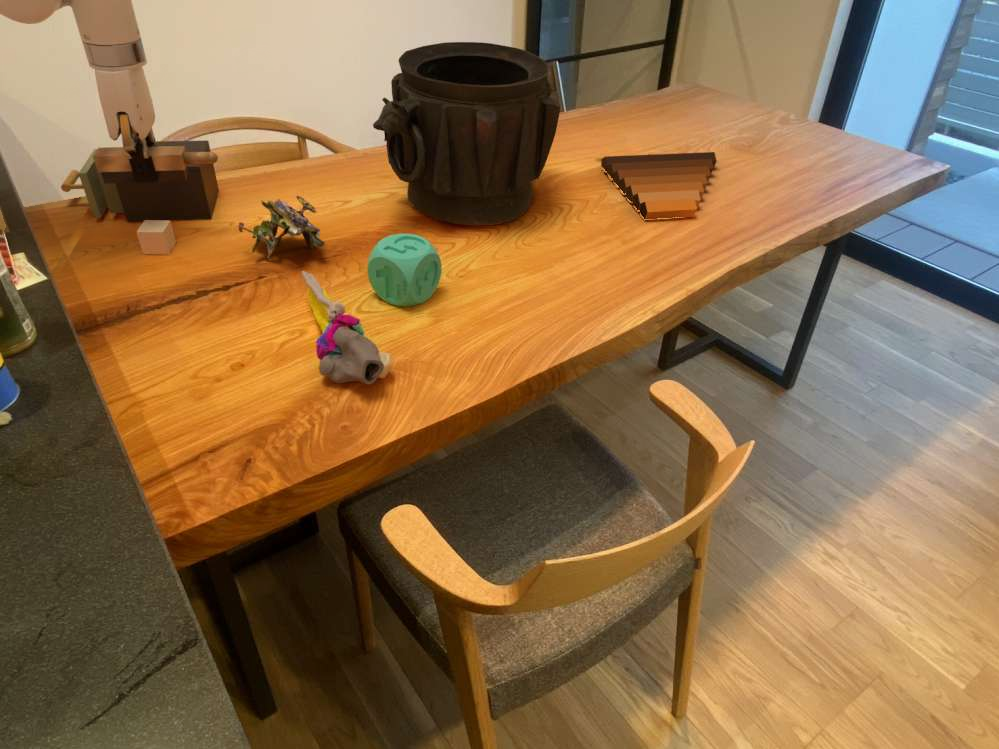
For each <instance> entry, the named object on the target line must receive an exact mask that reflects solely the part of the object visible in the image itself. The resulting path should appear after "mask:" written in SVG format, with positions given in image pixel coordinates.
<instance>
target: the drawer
mask: <svg viewBox="0 0 999 749" xmlns="http://www.w3.org/2000/svg"><path fill="white" fill-rule="evenodd" d="M97 149H98V148H94V149H93V150H92V152H91V153H90V155H89V156H88V158H87V159H86V162H84V164H83V165H82V167H81V169H79V171H78V170H76V169H72V170H70V172H69V174H68V175H67V176H66V178H65V180H64V181H63V182H62V184H61V185H60V189H61V190H62V192H65V193H69V192H71V191H72V190H83V191H84V194H85V197H86V200H87V203H88V206H89V209H90V211H91V214H92V218H102V216H103V215H104V213H105V211H106V209H107V208H108V211H109V213H110V214H125V213H124V209H123V206H122V203H121V200H120V197H119V193H118V190H117V187H116V184H115V183H108V184H105V183H104V180H103V177H102V174H101V172H98V171H97V168H96V165H95V162H94V159H93V156H94V154H95V152H96V151H97ZM78 179H79V180H80V182H81V183H78V184H77V181H78Z"/></svg>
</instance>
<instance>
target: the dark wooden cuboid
mask: <svg viewBox="0 0 999 749" xmlns="http://www.w3.org/2000/svg"><path fill="white" fill-rule="evenodd" d="M134 143H135V142H134ZM135 144H136V143H135ZM156 145H157V147H160V146H185V149H186V152H212V151H211V146H210V142H209V140H163V141H161V140H159V141H156ZM187 168H188V172H189V175H188V177H187V180H186V181H182V182H154V183H115V184H116V187H117V190H118V193H119V197H120V200H121V203H122V206H123V209H124V213H123V214H124V215H125V216H124V217H125V219H126V221H127V223H143V222H144V220H169V221H171V222H178V221H204V220H207V221H208V220H212V219H213V215H214V211H215V208H216V204H217V200H218V197H219V192H220V189H219V183H218V179H217V175H216V170H215V165H214V164H187Z"/></svg>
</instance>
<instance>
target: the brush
mask: <svg viewBox="0 0 999 749" xmlns="http://www.w3.org/2000/svg"><path fill="white" fill-rule="evenodd" d="M96 149H97V151H96V152H95V154H94V156H93V159H94V162H95V165H96V168H97V171H98V172H101V174H102V177H103V180H104V183H105V184H108V183H137V182H136V181H135V179H134V175H133V172H132V168H131V165H130V162H129V159H128V156H127V152H126V151H125V150H124V148H123V146H118V147H117V146H114V147H113V146H112V147H111V146H109V147H107V146H106V147H98V148H96ZM147 149H148V153H149V156H152V159H153V163H154V167H155V171H156V174H157V178H158V180H157V182H182V181H186V180H187V177H188V175H189V172H188V168H187V164H213V165H214V164H216V163H217V162H218V160H219V156H218V155H217V154H216V153H215V152H213V151H211V152H186V149H185V146H160V147H147Z"/></svg>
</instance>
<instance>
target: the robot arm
mask: <svg viewBox="0 0 999 749" xmlns="http://www.w3.org/2000/svg"><path fill="white" fill-rule="evenodd" d="M64 7H70V8H71V9H72V12H73V13H72V14H73V17H74V19H75V23H76V26H77V29H78V33H79V36H80V40H81V43H82V46H83V50H84V53H85V56H86V59H87V62H88V66H89V67H90V68H91V69H92V70H93V69H94V75H95V82H96V89H97V92H98V97H99V101H100V104H101V109H102V113H103V117H104V121H105V124H106V129H107V132H108V136H109V138H110V139H111V140H112V141H118V140H119V137H120V136H121V141H122V147H123V148H124V150H125V151H126V152H127V156H128V159H129V162H130V165H131V168H132V172H133V175H134V179H135V181H136V182H137V183H154V182H157V180H158V178H157V174H156V171H155V167H154V163H153V159H152V156H149V153H148V149H147V147H157V145H156V138H155V134H154V131H153V126H154V124H155V121H156V112H155V107H154V103H153V99H152V95H151V92H150V87H149V85H148V81H147V78H146V75H145V70H144V67H145V65H147V64H148V60H147V57H146V52H145V48H144V44H143V41H142V37H141V33H140V32H141V31H140V28H139V25H138V21H137V16H136V12H135V9H134V5H133V1H132V0H0V15H2V16H3V17H5V18H7V19H9V20H10V21H11V20H12V21H14V22H17V23H21V24H26V25H36V24H41V23H42V22H45V21H47V20H48V19H49V18H51V17H52V16H53V15H54V14H55V12H56V11H59V10H60V9H63V8H64ZM134 142H135V143H136V144H135V143H134Z"/></svg>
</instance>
